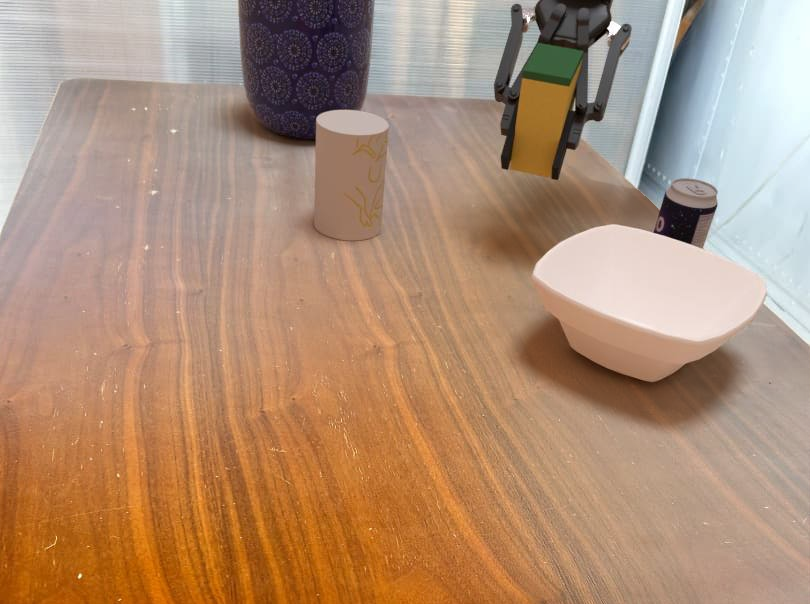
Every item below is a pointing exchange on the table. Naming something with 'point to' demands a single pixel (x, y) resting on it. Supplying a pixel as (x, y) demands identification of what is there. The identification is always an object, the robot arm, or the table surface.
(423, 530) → the table surface
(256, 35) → the planter
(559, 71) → the sponge
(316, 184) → the beige patterned cylinder
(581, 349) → the bowl
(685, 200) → the beverage can
